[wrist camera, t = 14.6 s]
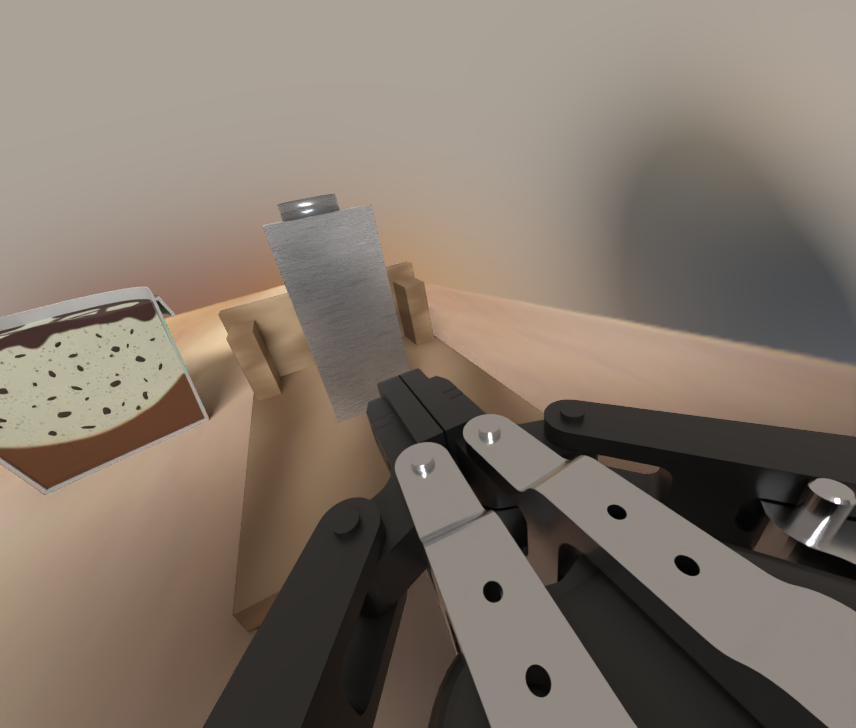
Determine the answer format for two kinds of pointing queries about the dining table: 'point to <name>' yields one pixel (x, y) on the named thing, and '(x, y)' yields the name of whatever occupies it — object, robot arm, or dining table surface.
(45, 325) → the food container
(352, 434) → the dock
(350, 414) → the block
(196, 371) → the dining table surface
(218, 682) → the dining table surface
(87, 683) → the dining table surface
